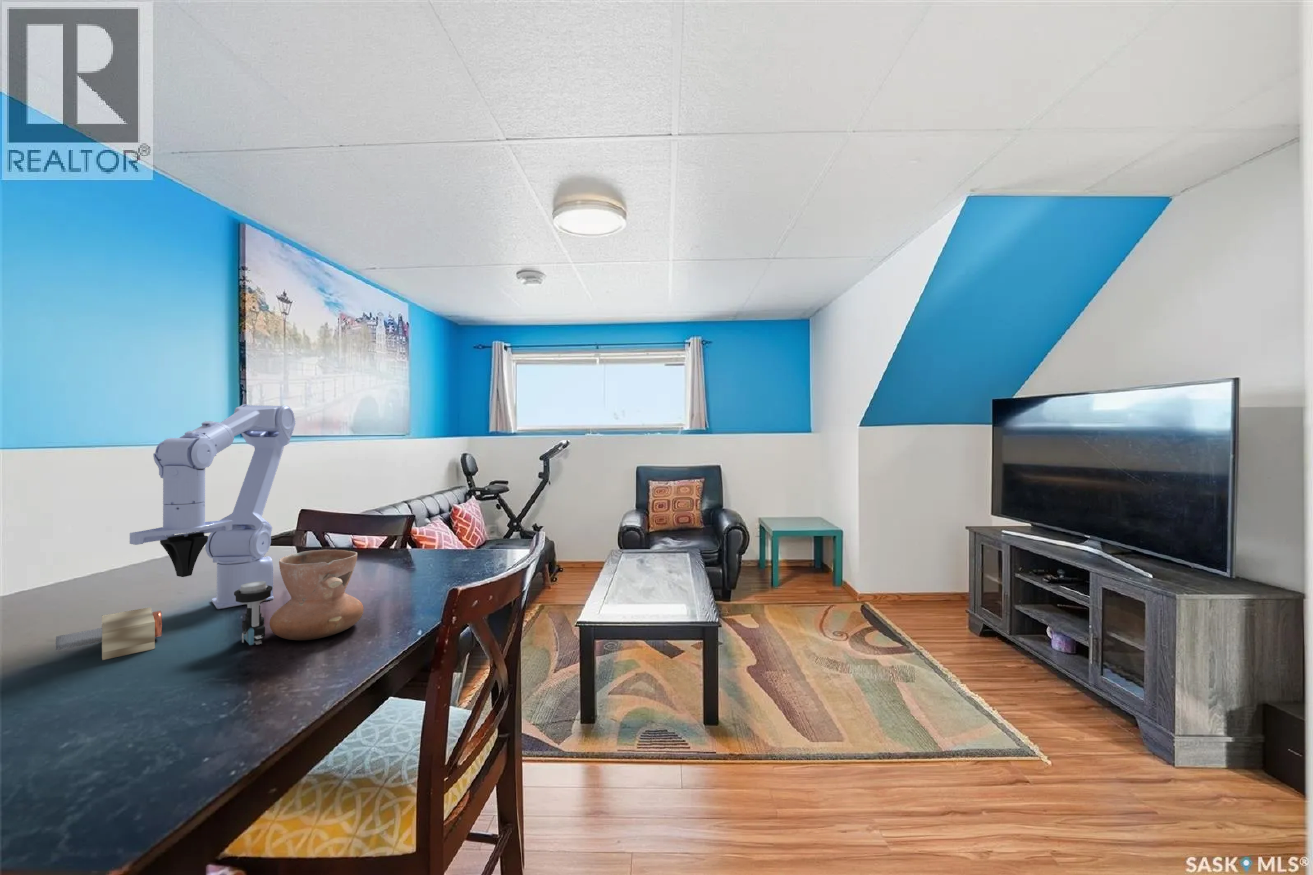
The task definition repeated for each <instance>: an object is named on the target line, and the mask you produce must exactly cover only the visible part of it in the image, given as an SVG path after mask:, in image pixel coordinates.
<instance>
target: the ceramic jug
mask: <svg viewBox="0 0 1313 875" xmlns="http://www.w3.org/2000/svg"><path fill="white" fill-rule="evenodd" d="M357 561H358V552H356V551H352V550H346V549H318V550H315V549H313V550H305V551H300V552H298V553H297V552H296V553H290V554H287V555H285V556H283V557H280V559H279V561H278V565H279V570H280V575H281V579H282V581H283V584H284V586H285V588H286V591H287V592H288V593H289V595H290V597H291V598H290V599H289V600H288V601H287V602H286V603H284V604H283V605H282V606H280V607H279V608H278V609H276V611H275V612H273V614H272V615H271V617H270V619H269V628H270V630H271V632H272V633H273V634H274V635H276V636H277V637H279V638H282V639H285V640H291V641H311V640H317V639H323V638H326V637H330V636H335V635H336V634H337V635H338V634H339V633H342V632H344V631H346V630H348V629H350V628H351V627H353V626H354V625H356V624H357V623H358V622H359V621H360V619H361V618H362V616H363V614H364V609H365V608H364V605H363V602H361V601H360V600H359V599H358V598H357V597H355V596H353V595H350V594H349V593H346V589H347V587H348V584H349V583H350V580H351V578H352V576H353V573H354V571H355V568H356V564H357Z"/></svg>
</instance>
